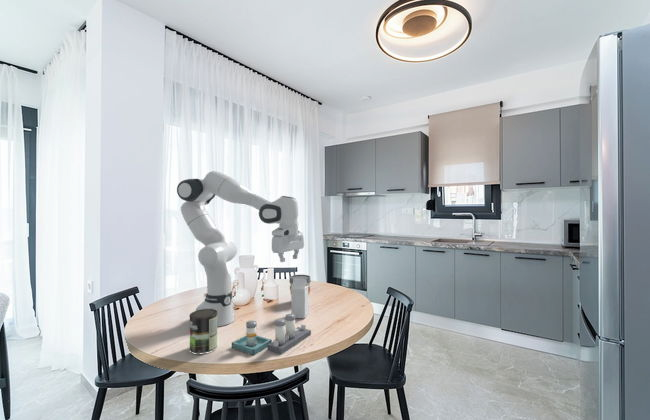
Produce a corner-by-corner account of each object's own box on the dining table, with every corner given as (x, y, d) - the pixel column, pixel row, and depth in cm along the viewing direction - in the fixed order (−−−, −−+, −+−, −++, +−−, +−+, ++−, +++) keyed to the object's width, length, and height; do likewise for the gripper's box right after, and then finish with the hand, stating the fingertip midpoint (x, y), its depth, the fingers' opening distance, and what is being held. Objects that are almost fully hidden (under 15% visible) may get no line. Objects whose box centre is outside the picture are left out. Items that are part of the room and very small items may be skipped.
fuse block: (267, 349, 114) (267, 339, 114) (298, 331, 131) (298, 322, 131) (281, 354, 110) (281, 343, 110) (310, 334, 127) (310, 325, 127)
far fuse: (273, 344, 114) (273, 321, 114) (279, 340, 118) (279, 317, 118) (281, 346, 112) (281, 323, 112) (287, 342, 116) (287, 319, 116)
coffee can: (195, 358, 108) (195, 320, 108) (185, 348, 115) (185, 313, 115) (222, 348, 115) (222, 313, 115) (211, 340, 122) (211, 306, 122)
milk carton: (304, 318, 146) (304, 281, 146) (291, 317, 147) (291, 280, 147) (308, 313, 153) (308, 277, 153) (295, 313, 154) (295, 277, 154)
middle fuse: (283, 337, 120) (283, 315, 120) (289, 334, 123) (289, 313, 123) (291, 340, 118) (291, 317, 118) (297, 336, 121) (297, 314, 121)
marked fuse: (244, 345, 116) (244, 323, 116) (251, 341, 120) (251, 319, 120) (251, 348, 114) (251, 325, 114) (258, 344, 117) (258, 321, 117)
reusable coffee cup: (302, 307, 164) (302, 280, 163) (285, 303, 170) (284, 277, 170) (314, 301, 174) (314, 276, 174) (298, 297, 181) (297, 273, 181)
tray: (231, 347, 116) (231, 342, 116) (250, 338, 124) (250, 333, 124) (253, 355, 109) (253, 349, 109) (271, 344, 118) (271, 339, 118)
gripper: (296, 229, 146) (296, 256, 146) (269, 232, 129) (269, 263, 129) (307, 229, 143) (307, 257, 143) (280, 232, 126) (280, 264, 126)
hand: (289, 260), depth 136 cm, fingers open, 8 cm apart
